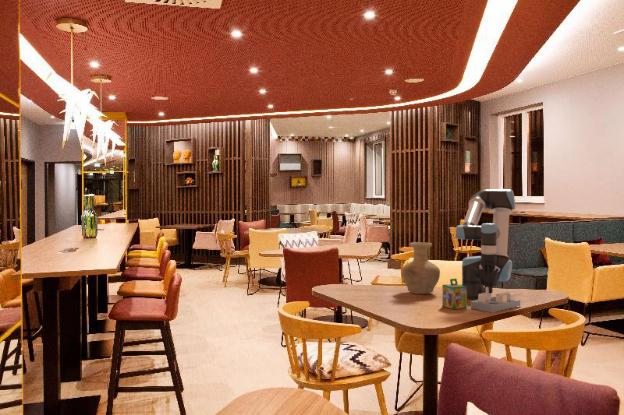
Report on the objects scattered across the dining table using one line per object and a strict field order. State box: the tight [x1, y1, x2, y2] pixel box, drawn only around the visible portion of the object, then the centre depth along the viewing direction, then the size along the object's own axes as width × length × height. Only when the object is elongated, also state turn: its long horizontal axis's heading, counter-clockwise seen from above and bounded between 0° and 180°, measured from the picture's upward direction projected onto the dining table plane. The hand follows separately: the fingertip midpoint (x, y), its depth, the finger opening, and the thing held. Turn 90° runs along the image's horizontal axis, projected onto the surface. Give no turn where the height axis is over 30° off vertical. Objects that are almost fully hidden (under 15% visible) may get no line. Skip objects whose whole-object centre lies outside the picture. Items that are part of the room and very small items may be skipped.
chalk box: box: [441, 278, 468, 310], centre depth 276 cm, size 9×9×15 cm
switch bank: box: [470, 296, 521, 313], centre depth 276 cm, size 24×13×4 cm, turn 126°
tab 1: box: [477, 293, 489, 304], centre depth 273 cm, size 4×4×6 cm
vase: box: [401, 241, 441, 295], centre depth 315 cm, size 22×22×30 cm
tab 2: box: [495, 292, 507, 303], centre depth 273 cm, size 4×4×6 cm
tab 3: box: [503, 290, 516, 301], centre depth 277 cm, size 4×4×6 cm
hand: (488, 299), depth 271 cm, fingers closed
